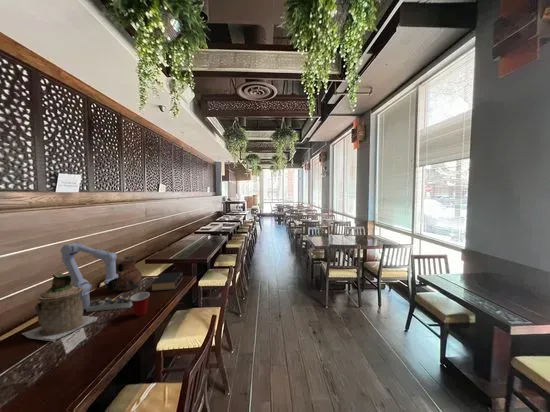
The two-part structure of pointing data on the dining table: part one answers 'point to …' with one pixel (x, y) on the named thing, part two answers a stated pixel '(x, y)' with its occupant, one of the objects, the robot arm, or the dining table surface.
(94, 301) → the rocker
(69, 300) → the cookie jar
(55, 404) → the dining table surface
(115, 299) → the rocker
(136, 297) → the plastic cup
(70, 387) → the dining table surface
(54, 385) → the dining table surface
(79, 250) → the robot arm
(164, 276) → the book
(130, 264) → the jug
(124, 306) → the power strip
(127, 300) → the rocker
